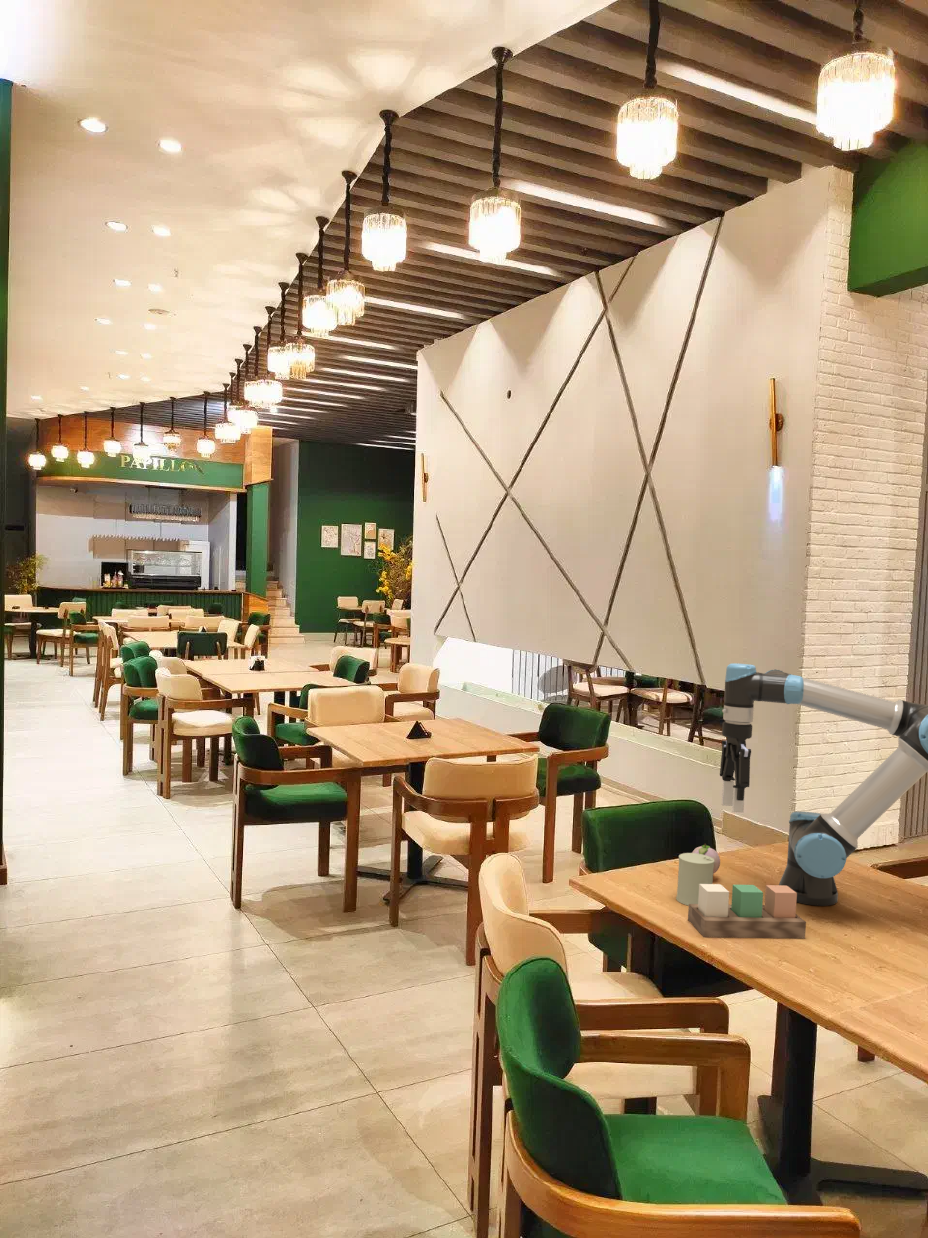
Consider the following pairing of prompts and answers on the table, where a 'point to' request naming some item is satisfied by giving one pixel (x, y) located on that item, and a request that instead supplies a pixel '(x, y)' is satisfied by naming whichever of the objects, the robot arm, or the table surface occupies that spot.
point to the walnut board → (746, 925)
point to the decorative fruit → (711, 853)
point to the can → (693, 876)
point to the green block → (747, 901)
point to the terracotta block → (780, 901)
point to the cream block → (713, 900)
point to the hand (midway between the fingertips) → (732, 808)
